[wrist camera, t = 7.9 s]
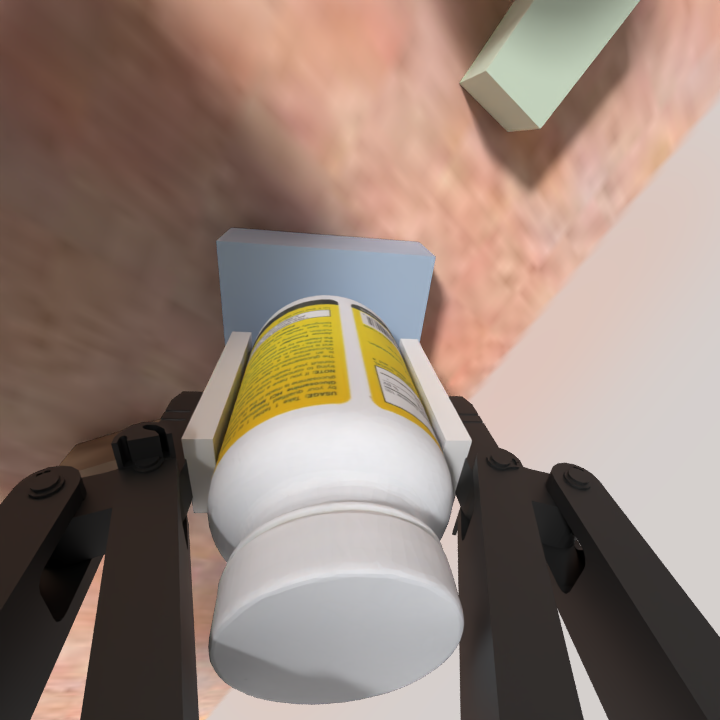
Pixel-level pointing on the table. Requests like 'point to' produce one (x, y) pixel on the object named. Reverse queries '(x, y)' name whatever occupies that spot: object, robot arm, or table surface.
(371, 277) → the slab
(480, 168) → the table surface
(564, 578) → the robot arm
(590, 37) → the sage brick
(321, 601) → the pill bottle
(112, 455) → the walnut brick
